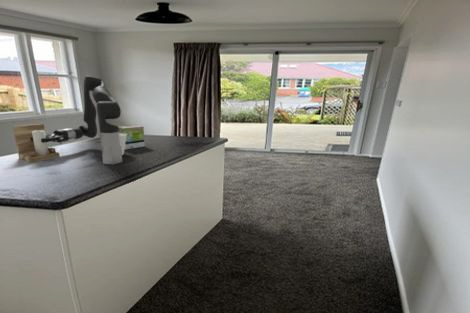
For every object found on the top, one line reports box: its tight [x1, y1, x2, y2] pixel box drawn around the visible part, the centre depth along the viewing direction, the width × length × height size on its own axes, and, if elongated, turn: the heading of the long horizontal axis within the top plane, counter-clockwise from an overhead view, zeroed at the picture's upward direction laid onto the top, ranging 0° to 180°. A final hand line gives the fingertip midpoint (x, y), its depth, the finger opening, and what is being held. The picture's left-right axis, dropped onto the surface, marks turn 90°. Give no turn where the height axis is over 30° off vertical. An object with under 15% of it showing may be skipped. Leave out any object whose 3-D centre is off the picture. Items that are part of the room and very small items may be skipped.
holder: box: [12, 123, 60, 163], centre depth 139 cm, size 14×14×18 cm
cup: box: [119, 133, 126, 156], centre depth 152 cm, size 12×12×12 cm
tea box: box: [117, 124, 145, 151], centre depth 172 cm, size 15×10×15 cm, turn 143°
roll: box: [32, 130, 49, 155], centre depth 138 cm, size 6×6×13 cm
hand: (36, 140), depth 135 cm, fingers open, 8 cm apart
